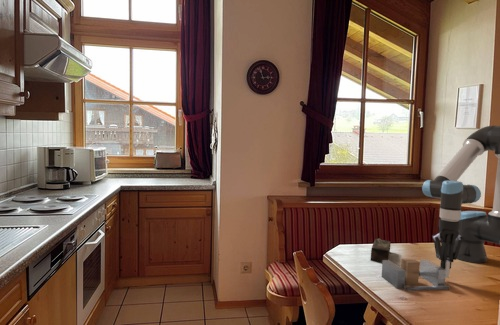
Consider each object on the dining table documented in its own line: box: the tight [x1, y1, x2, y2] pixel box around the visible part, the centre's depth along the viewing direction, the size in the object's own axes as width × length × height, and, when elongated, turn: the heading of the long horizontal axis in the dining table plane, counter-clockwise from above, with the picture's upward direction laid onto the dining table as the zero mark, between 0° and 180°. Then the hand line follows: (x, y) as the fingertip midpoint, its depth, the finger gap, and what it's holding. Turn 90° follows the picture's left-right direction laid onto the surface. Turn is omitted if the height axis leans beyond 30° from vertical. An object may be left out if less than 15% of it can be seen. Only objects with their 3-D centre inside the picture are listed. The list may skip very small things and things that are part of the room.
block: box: [400, 257, 420, 286], centre depth 150 cm, size 5×5×9 cm
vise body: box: [381, 259, 451, 292], centre depth 151 cm, size 20×16×7 cm
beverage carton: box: [370, 238, 391, 263], centre depth 182 cm, size 8×19×7 cm, turn 156°
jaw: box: [419, 258, 446, 286], centre depth 152 cm, size 3×12×7 cm, turn 8°
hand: (444, 276), depth 153 cm, fingers closed
